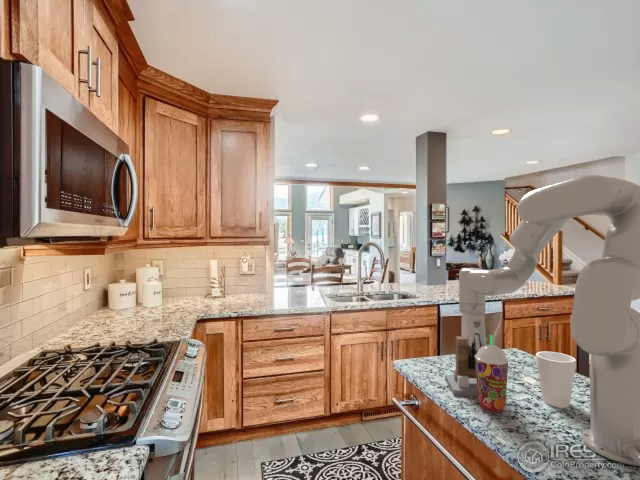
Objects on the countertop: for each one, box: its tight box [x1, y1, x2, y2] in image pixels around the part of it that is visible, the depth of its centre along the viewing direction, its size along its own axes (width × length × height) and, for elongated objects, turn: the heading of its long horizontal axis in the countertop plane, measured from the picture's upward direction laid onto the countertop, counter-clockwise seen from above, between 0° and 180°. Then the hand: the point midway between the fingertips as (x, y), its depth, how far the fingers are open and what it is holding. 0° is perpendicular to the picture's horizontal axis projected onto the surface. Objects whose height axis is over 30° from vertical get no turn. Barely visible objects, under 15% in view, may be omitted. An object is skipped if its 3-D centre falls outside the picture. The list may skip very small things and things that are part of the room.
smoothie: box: [475, 334, 509, 413], centre depth 97 cm, size 8×8×20 cm
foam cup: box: [535, 350, 577, 409], centre depth 99 cm, size 10×9×13 cm
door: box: [455, 335, 490, 378], centre depth 109 cm, size 4×9×12 cm, turn 82°
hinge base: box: [444, 368, 478, 398], centre depth 109 cm, size 12×14×4 cm
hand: (472, 366), depth 109 cm, fingers closed on door, 3 cm apart
